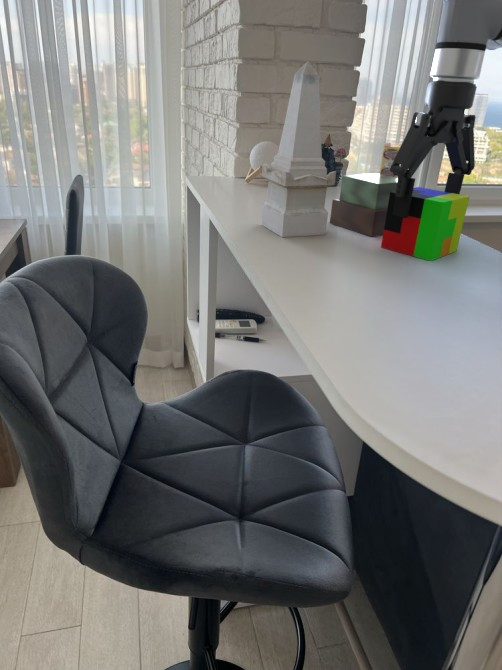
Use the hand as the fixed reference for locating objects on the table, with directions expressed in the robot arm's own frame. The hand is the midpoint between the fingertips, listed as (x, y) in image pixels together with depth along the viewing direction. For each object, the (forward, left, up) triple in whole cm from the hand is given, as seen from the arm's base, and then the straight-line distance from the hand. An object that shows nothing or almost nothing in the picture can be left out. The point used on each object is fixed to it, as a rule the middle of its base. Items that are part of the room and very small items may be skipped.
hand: (424, 213), depth 91 cm
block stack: (+16, -4, -7) cm, 18 cm away
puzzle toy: (0, 0, -7) cm, 7 cm away
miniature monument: (+21, +13, -7) cm, 25 cm away
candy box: (+24, -17, -7) cm, 30 cm away
